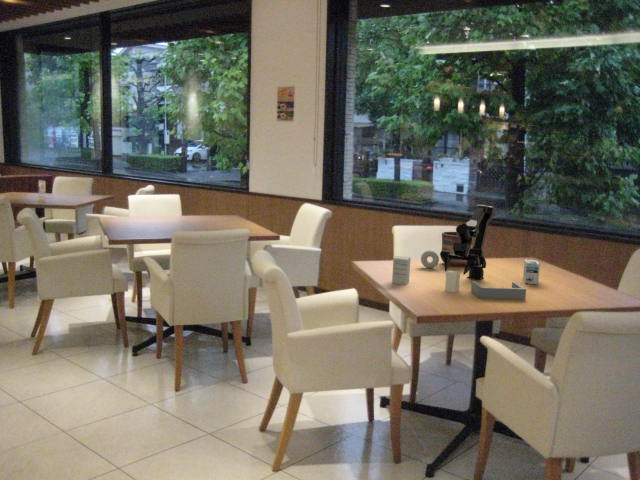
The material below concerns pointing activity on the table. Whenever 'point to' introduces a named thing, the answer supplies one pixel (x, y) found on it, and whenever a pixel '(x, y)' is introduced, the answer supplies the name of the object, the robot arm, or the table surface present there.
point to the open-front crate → (499, 292)
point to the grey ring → (431, 254)
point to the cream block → (452, 281)
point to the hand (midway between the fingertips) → (454, 272)
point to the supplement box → (401, 270)
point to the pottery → (447, 245)
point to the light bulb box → (531, 271)
